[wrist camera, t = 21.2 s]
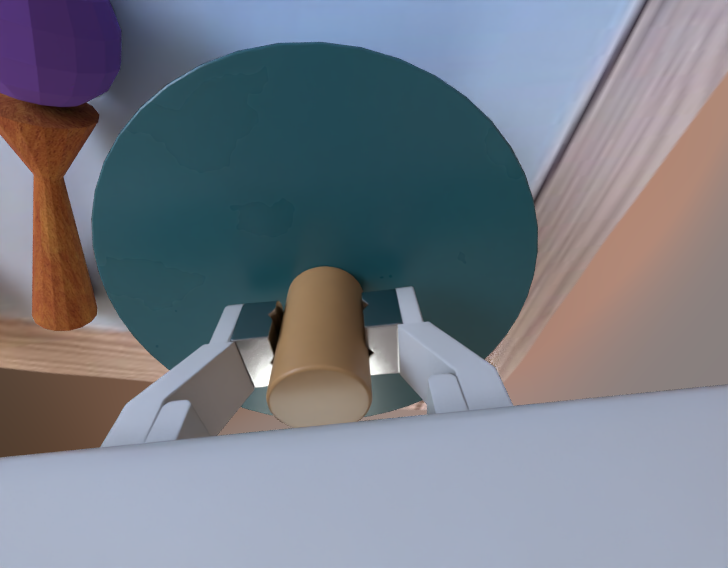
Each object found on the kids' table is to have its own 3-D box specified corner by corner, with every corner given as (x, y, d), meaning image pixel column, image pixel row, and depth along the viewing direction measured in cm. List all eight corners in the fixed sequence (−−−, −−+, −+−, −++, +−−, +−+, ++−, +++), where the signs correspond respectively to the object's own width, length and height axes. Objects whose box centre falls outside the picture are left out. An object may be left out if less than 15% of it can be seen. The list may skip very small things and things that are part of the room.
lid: (6, 72, 8) (-348, 106, 4) (567, 12, 8) (812, -19, 4) (204, 410, 16) (154, 545, 12) (494, 381, 16) (549, 506, 12)
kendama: (-28, 323, 20) (-215, -179, 9) (59, 269, 25) (10, -102, 14) (74, 362, 21) (22, -54, 10) (140, 302, 26) (157, -23, 15)
